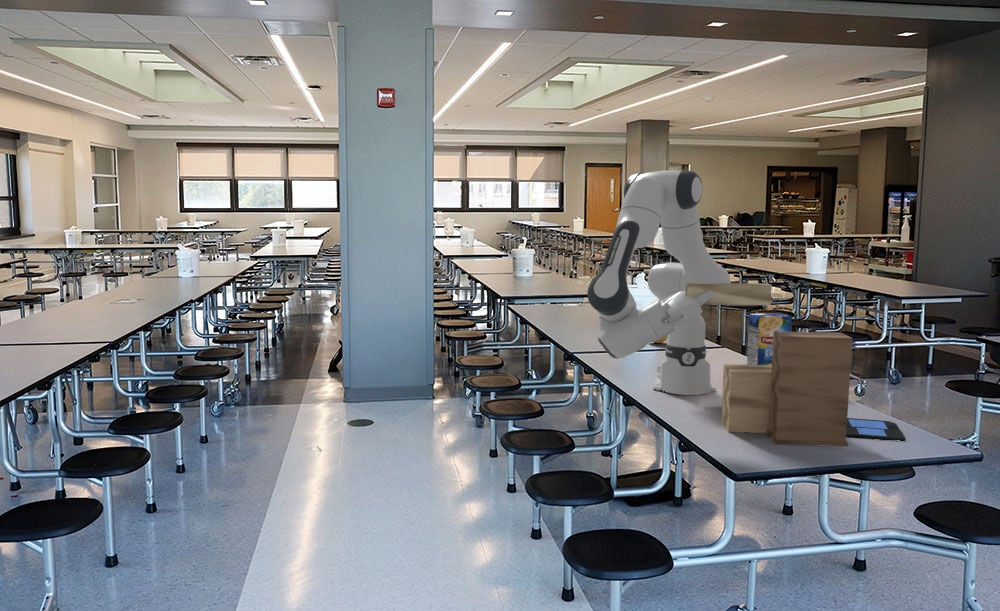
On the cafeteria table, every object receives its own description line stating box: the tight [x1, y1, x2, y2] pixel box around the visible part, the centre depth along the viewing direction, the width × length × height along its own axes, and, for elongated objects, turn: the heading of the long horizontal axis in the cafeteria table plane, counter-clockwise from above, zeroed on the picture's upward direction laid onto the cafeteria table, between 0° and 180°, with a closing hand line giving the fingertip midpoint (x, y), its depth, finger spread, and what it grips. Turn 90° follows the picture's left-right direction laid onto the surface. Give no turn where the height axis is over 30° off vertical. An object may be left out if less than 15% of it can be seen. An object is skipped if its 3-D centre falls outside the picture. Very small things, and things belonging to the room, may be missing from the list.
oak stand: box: [721, 363, 772, 434], centre depth 198 cm, size 9×22×17 cm, turn 85°
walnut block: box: [765, 331, 853, 448], centre depth 187 cm, size 8×17×26 cm, turn 85°
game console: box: [846, 417, 907, 442], centre depth 196 cm, size 14×13×2 cm
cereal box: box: [746, 312, 793, 365], centre depth 248 cm, size 7×11×22 cm, turn 100°
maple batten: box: [686, 282, 773, 306], centre depth 192 cm, size 4×20×5 cm, turn 85°
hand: (710, 291), depth 192 cm, fingers closed on maple batten, 3 cm apart
